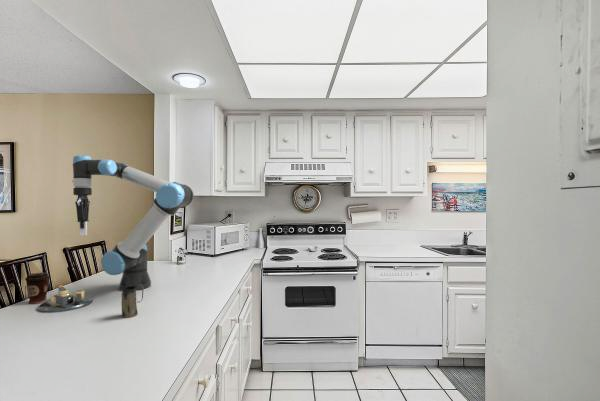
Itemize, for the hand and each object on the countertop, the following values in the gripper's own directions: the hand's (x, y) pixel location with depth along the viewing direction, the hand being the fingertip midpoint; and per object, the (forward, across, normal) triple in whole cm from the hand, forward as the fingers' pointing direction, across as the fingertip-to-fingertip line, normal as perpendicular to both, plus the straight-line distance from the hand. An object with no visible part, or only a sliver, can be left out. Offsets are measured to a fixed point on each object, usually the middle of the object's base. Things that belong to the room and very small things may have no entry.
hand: (83, 234), depth 161 cm
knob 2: (+28, +22, -3) cm, 36 cm away
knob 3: (+28, +18, +4) cm, 34 cm away
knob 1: (+28, +10, -6) cm, 30 cm away
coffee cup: (+30, +7, -16) cm, 35 cm away
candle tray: (+29, +16, -2) cm, 34 cm away
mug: (+30, +40, +29) cm, 58 cm away
